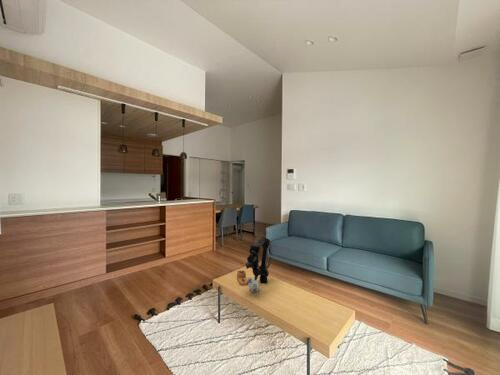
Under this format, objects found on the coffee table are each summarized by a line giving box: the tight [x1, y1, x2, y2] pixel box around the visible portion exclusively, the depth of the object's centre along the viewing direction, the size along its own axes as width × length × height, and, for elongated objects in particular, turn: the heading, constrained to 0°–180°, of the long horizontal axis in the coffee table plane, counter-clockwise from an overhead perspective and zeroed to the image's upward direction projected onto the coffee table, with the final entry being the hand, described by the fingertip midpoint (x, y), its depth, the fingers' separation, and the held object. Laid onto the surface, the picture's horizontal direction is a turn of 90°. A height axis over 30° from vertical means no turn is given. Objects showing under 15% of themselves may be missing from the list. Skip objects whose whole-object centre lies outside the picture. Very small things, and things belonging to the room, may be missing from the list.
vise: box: [247, 276, 256, 289], centre depth 190 cm, size 8×10×5 cm
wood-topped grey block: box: [250, 279, 259, 292], centre depth 179 cm, size 6×3×9 cm, turn 97°
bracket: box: [236, 269, 249, 287], centre depth 197 cm, size 18×8×7 cm, turn 15°
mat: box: [249, 287, 261, 295], centre depth 179 cm, size 8×8×1 cm
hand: (254, 277), depth 179 cm, fingers open, 9 cm apart
